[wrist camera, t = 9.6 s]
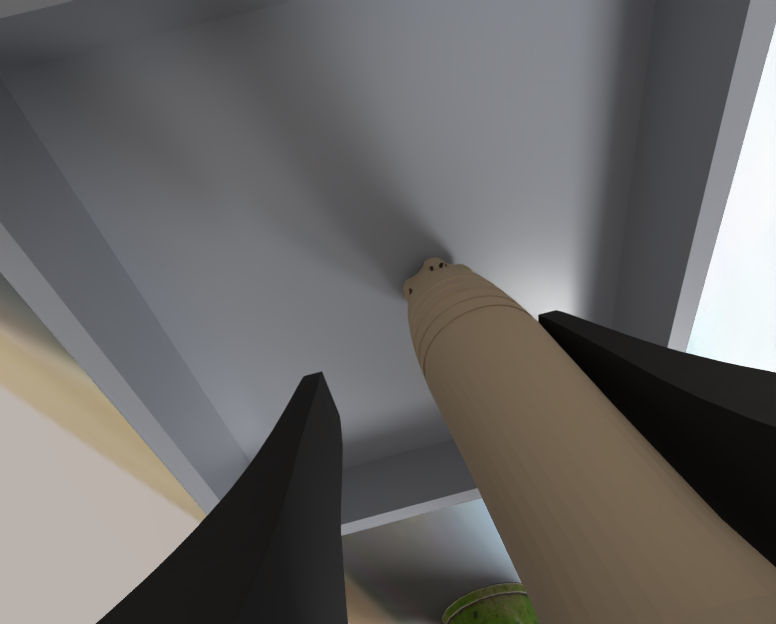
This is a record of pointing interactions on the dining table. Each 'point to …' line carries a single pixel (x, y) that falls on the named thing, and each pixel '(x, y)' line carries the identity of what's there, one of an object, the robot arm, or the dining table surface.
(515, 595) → the lantern
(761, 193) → the dining table surface
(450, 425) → the handle
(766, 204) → the dining table surface
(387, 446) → the bin
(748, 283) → the dining table surface
